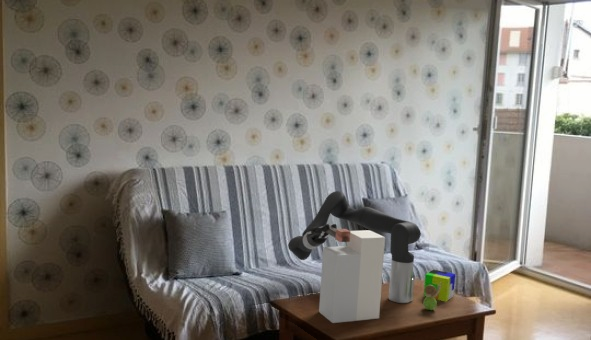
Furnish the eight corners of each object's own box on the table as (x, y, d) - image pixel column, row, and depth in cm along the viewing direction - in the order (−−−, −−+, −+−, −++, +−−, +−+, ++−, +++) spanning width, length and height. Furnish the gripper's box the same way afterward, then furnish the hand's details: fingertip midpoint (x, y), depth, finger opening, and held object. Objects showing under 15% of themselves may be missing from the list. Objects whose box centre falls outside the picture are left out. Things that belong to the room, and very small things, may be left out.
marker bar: (330, 230, 249) (331, 221, 248) (349, 241, 234) (350, 231, 234) (321, 231, 247) (322, 221, 246) (340, 242, 233) (341, 231, 232)
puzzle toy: (453, 296, 272) (455, 274, 271) (445, 301, 264) (447, 279, 262) (431, 291, 277) (433, 269, 276) (423, 296, 269) (425, 274, 268)
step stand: (363, 307, 250) (369, 230, 246) (379, 318, 239) (385, 237, 235) (319, 312, 242) (324, 232, 238) (332, 323, 231) (338, 239, 227)
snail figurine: (438, 313, 249) (441, 284, 247) (422, 311, 250) (425, 282, 249) (438, 308, 254) (441, 280, 253) (422, 306, 255) (425, 278, 254)
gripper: (330, 246, 260) (349, 234, 245) (300, 247, 254) (317, 236, 239) (328, 229, 262) (346, 216, 247) (297, 230, 257) (314, 217, 242)
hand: (331, 226), depth 243 cm, fingers closed on marker bar, 2 cm apart
